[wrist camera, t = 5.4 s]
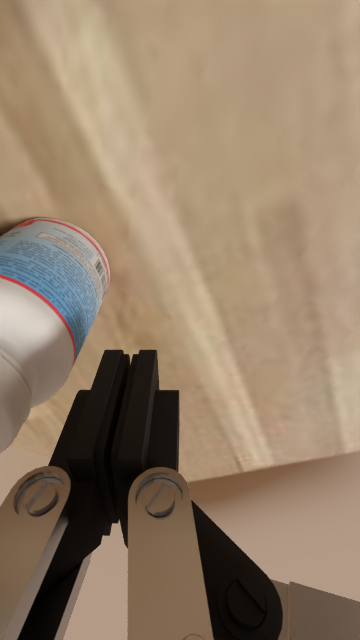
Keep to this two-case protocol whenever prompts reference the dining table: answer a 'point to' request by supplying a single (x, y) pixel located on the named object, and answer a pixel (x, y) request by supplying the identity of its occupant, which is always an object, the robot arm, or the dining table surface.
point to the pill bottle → (44, 312)
